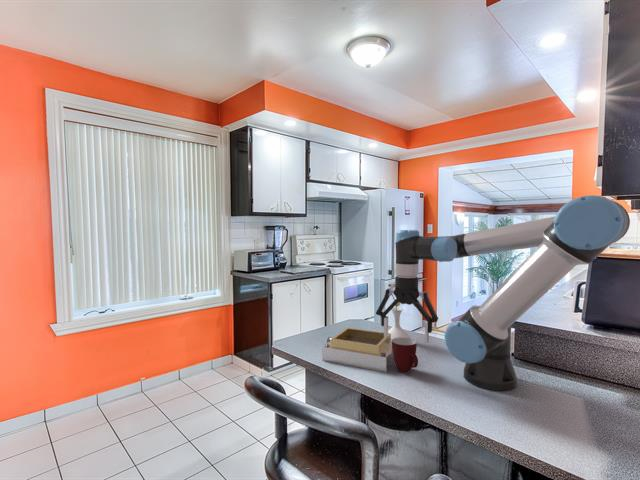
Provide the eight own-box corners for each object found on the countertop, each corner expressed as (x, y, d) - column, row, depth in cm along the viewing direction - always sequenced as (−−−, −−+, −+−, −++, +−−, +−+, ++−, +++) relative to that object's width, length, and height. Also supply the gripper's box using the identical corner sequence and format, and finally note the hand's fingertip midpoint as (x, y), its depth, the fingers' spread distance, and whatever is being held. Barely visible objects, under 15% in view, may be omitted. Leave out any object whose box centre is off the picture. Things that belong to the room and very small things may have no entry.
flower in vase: (393, 335, 154) (393, 280, 154) (415, 341, 146) (416, 283, 145) (375, 341, 146) (375, 283, 145) (398, 348, 137) (398, 286, 136)
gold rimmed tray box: (399, 354, 131) (399, 333, 130) (386, 372, 115) (386, 348, 114) (332, 343, 143) (332, 324, 143) (312, 358, 127) (312, 337, 127)
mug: (427, 374, 113) (427, 344, 112) (410, 380, 108) (410, 349, 108) (403, 363, 122) (403, 336, 121) (386, 368, 117) (386, 340, 117)
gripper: (447, 277, 112) (446, 341, 113) (374, 272, 123) (373, 330, 124) (444, 280, 105) (443, 348, 106) (367, 275, 116) (366, 336, 117)
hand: (405, 338), depth 115 cm, fingers open, 13 cm apart
